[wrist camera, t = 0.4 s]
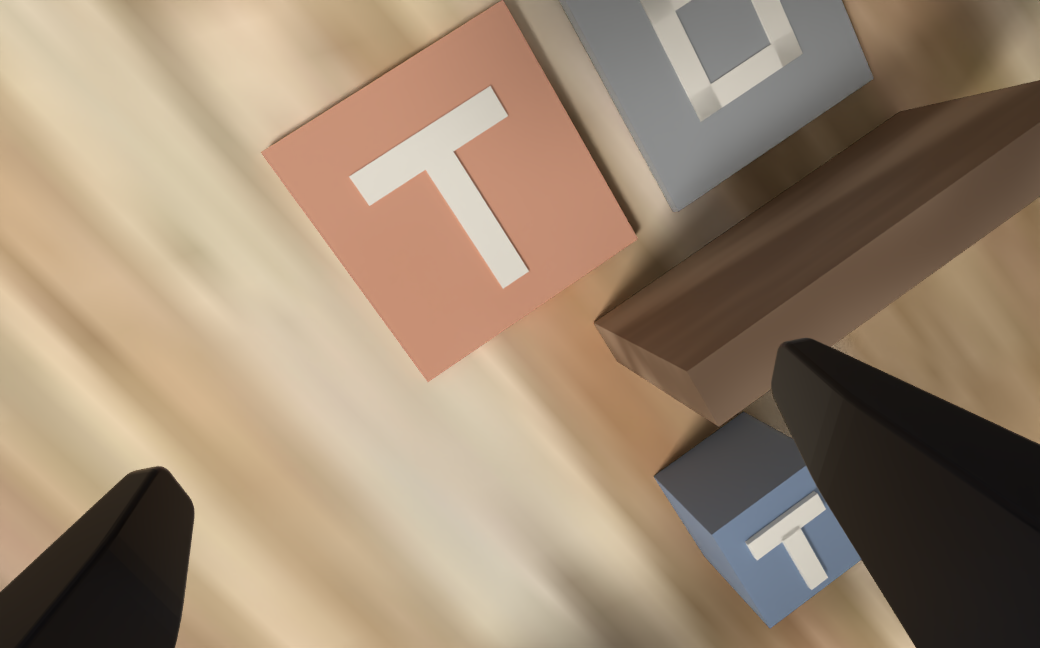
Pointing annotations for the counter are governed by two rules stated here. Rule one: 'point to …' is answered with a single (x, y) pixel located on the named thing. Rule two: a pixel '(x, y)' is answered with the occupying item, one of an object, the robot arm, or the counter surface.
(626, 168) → the counter surface
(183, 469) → the counter surface
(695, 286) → the walnut screen
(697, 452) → the letter cube
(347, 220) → the terracotta pad
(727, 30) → the grey pad
